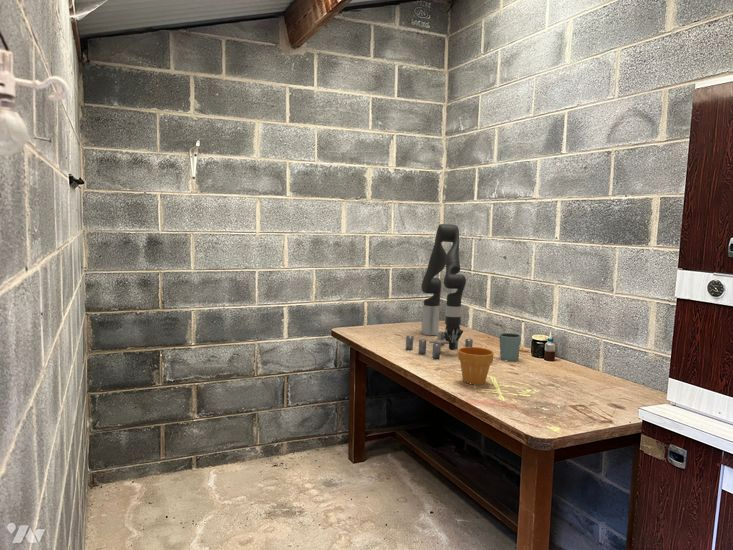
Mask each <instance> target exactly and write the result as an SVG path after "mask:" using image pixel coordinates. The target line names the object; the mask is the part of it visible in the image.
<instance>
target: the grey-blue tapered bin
mask: <svg viewBox="0 0 733 550" xmlns="http://www.w3.org/2000/svg"><path fill="white" fill-rule="evenodd" d="M498 335H499V336H498V339H499V357H500V358H501V359H502V361H504V360H507V361H506V362H517V360H518V361H519V359H520V358H519V356H520V349H521V348H520V347H521V341H522V335H521V334H520V333H513V332H503V333H501V332H500V333H499V334H498ZM501 359H500V360H501Z"/></svg>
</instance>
